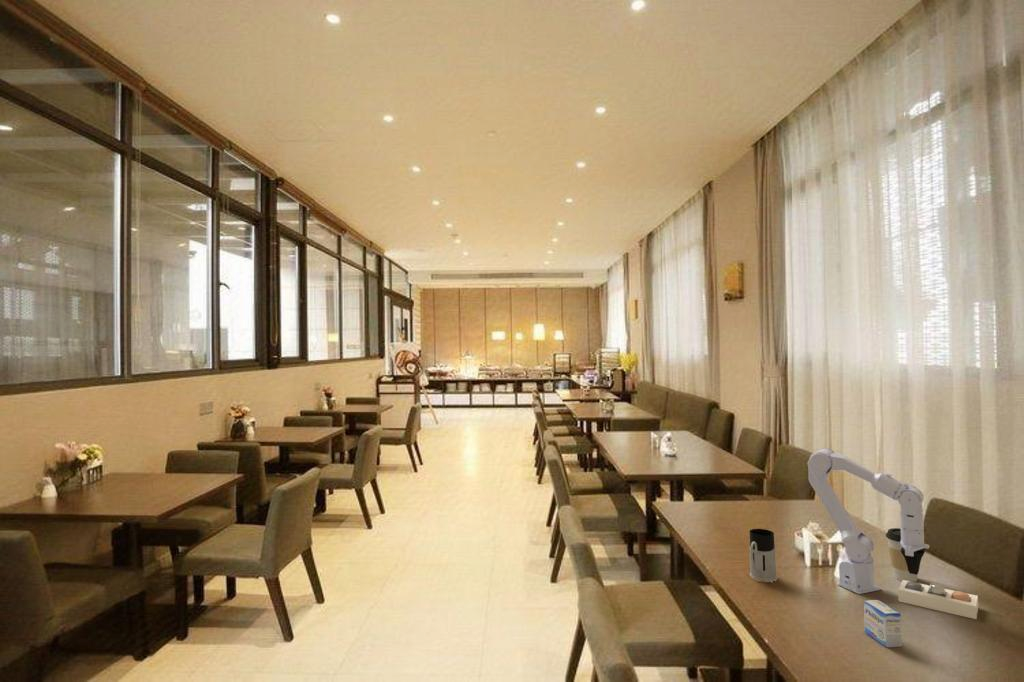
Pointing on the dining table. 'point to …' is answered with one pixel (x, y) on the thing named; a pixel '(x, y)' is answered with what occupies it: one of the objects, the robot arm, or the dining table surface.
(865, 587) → the robot arm
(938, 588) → the grey rock
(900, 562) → the coffee cup
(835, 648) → the dining table surface
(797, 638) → the dining table surface
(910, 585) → the grey stone
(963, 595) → the tan rounded lump
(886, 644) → the medicine box
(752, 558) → the glass holder
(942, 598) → the cream rectangular tray
